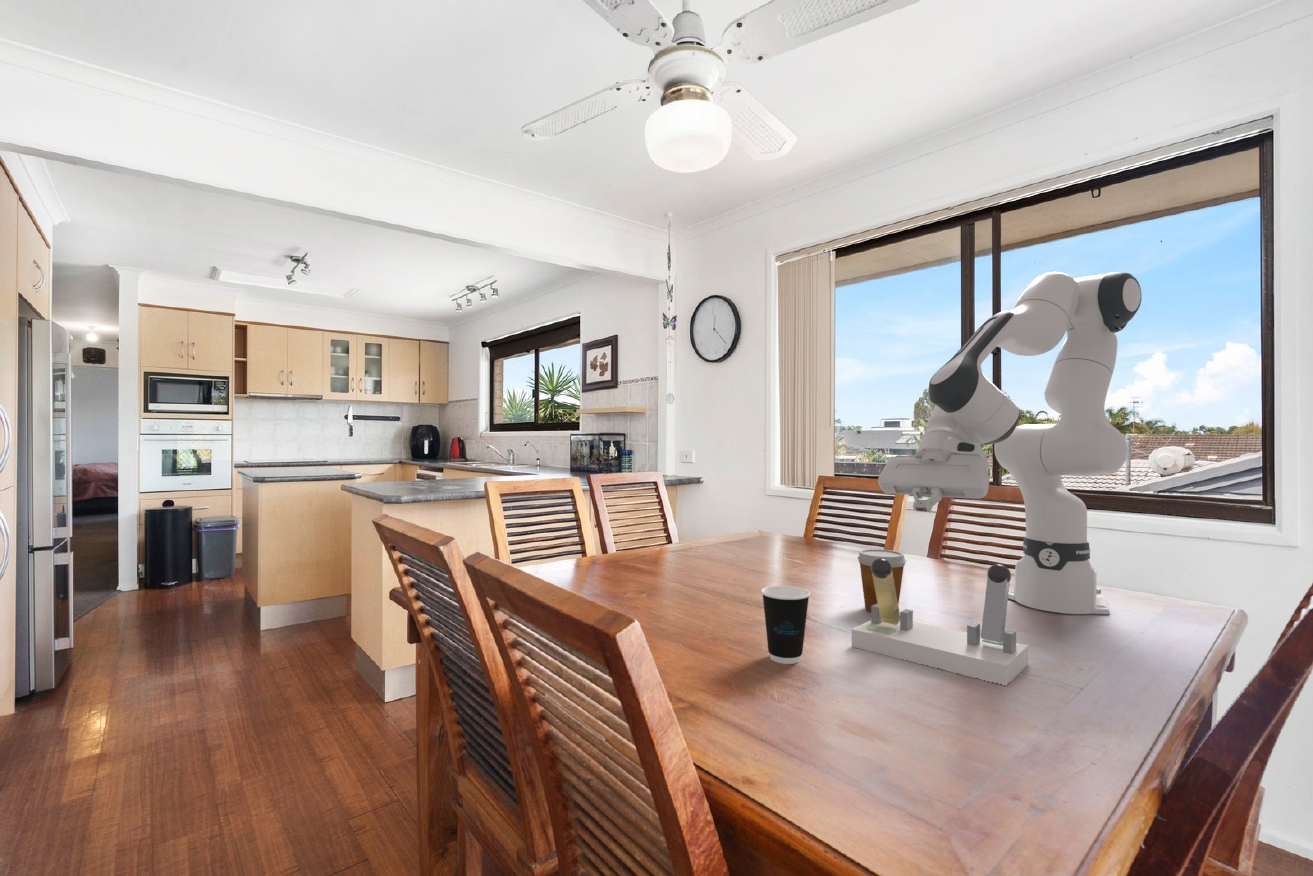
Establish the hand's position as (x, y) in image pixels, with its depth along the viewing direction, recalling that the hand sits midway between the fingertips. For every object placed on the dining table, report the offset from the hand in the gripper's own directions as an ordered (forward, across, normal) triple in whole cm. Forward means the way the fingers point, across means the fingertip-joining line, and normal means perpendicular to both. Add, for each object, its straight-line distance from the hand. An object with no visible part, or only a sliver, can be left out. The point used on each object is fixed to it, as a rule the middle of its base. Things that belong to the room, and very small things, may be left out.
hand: (921, 509), depth 119 cm
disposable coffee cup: (+13, -10, +18) cm, 25 cm away
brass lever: (+23, 0, +3) cm, 24 cm away
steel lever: (+23, +16, +4) cm, 29 cm away
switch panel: (+26, +8, +5) cm, 28 cm away
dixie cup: (+39, -9, -9) cm, 41 cm away
